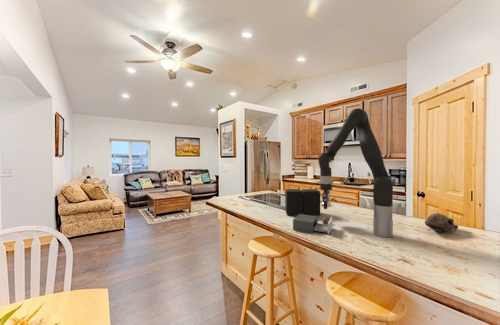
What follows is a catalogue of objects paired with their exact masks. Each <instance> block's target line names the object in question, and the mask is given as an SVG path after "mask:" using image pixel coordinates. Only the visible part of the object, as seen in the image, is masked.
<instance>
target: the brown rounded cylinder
mask: <svg viewBox="0 0 500 325" xmlns="http://www.w3.org/2000/svg"><path fill="white" fill-rule="evenodd" d="M329 220H330V217H322V224H326V225H328V222H329Z"/></svg>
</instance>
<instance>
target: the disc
mask: <svg viewBox="0 0 500 325" xmlns="http://www.w3.org/2000/svg"><path fill="white" fill-rule="evenodd" d="M321 207H323V208H324V203H323V201H321ZM330 207H332V202H331V201H329V202H328V203H327V208H330Z"/></svg>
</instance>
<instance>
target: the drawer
mask: <svg viewBox="0 0 500 325" xmlns="http://www.w3.org/2000/svg"><path fill="white" fill-rule="evenodd" d="M332 229H333V216H330V217H329V222H328V224H327V225H326V224H323V223H319V222H318V223H317V224H316V226H315V227H314V232H320V233H321V232H322V233H327V234H328V235H330V233H331V232H332Z"/></svg>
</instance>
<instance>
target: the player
mask: <svg viewBox="0 0 500 325" xmlns="http://www.w3.org/2000/svg"><path fill="white" fill-rule="evenodd" d="M318 217H319V216H311V215H304V213H303V214H299V215H295V217H294V218H293V219H292V230H293V231H297V232H304V233H309V234H313V233H314V232H315V231H314V227H315V226H316V224H317V223H319V222H318Z"/></svg>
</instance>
